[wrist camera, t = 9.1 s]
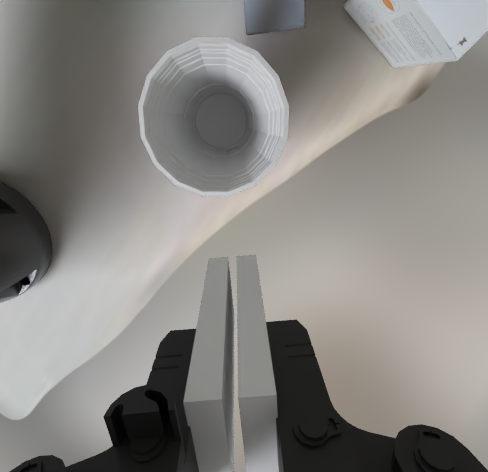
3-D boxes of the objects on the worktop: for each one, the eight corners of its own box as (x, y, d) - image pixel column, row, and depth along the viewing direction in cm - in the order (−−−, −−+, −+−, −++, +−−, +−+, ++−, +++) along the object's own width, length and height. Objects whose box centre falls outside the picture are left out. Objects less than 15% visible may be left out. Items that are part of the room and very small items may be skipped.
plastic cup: (262, 50, 31) (278, 15, 20) (279, 160, 35) (299, 182, 24) (156, 73, 31) (112, 51, 20) (184, 179, 35) (160, 209, 24)
